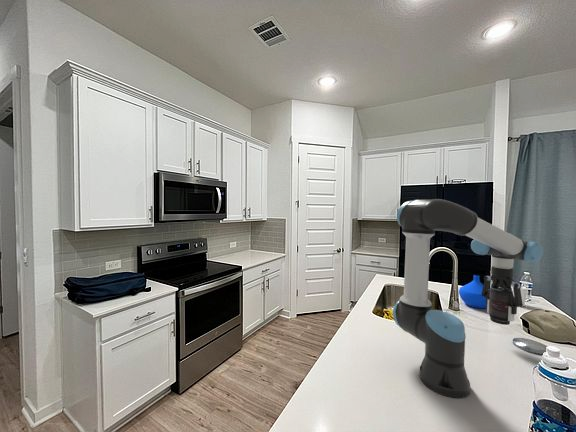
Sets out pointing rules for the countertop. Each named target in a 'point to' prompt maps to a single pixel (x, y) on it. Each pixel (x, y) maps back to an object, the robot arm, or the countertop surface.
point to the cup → (522, 293)
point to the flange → (529, 345)
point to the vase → (473, 293)
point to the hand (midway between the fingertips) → (500, 316)
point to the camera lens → (499, 306)
